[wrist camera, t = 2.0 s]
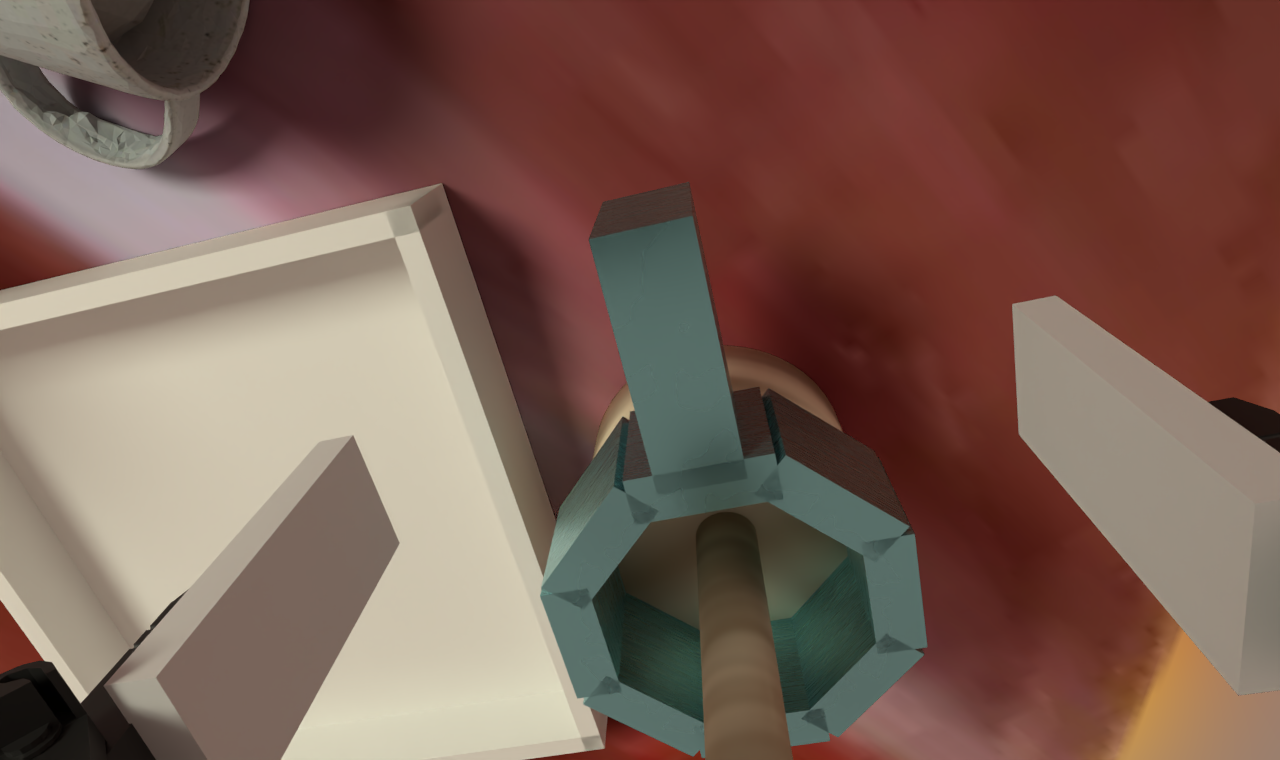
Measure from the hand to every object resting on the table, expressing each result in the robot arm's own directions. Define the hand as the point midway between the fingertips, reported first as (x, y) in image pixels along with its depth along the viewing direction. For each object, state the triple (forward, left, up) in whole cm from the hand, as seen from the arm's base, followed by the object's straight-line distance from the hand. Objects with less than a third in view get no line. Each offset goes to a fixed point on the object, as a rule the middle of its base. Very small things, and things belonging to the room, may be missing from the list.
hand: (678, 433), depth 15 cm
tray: (+7, -18, -13) cm, 23 cm away
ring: (+5, 0, -8) cm, 9 cm away
